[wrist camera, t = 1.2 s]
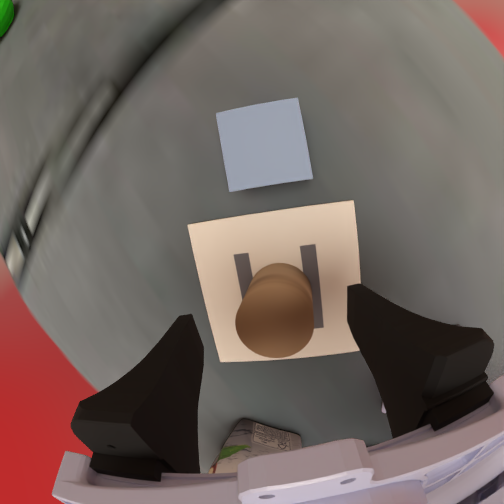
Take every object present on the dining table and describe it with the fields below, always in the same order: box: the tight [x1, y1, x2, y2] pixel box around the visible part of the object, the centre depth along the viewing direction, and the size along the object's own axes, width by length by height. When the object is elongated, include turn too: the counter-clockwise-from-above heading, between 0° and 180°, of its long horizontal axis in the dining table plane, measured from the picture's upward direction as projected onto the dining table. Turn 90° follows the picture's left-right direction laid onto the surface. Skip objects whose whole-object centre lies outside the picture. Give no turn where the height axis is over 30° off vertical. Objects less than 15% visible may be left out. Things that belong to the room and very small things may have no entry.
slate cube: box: [216, 98, 313, 192], centre depth 19 cm, size 5×5×5 cm
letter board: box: [188, 200, 361, 362], centre depth 23 cm, size 13×13×1 cm
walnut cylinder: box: [235, 263, 314, 358], centre depth 20 cm, size 5×5×6 cm
